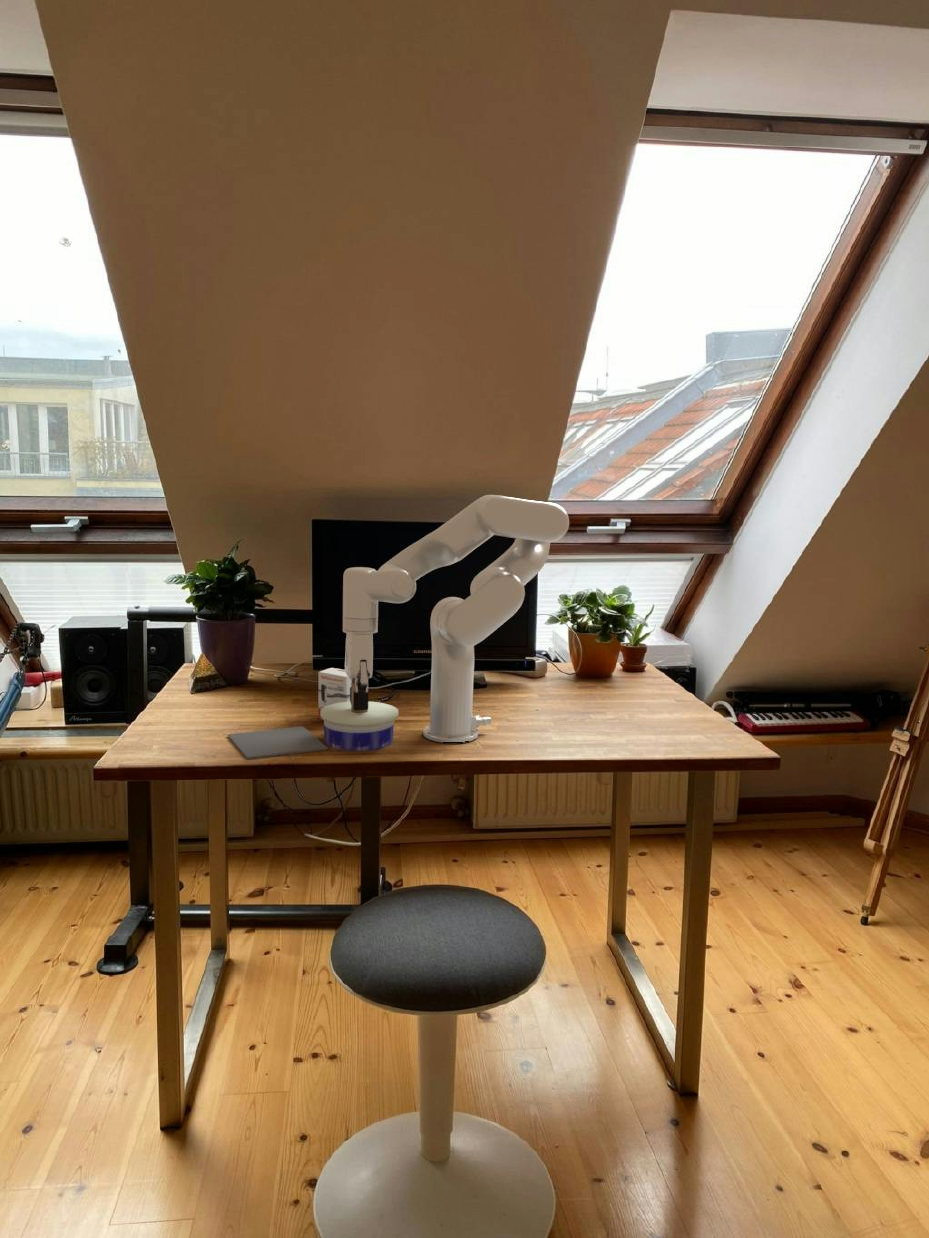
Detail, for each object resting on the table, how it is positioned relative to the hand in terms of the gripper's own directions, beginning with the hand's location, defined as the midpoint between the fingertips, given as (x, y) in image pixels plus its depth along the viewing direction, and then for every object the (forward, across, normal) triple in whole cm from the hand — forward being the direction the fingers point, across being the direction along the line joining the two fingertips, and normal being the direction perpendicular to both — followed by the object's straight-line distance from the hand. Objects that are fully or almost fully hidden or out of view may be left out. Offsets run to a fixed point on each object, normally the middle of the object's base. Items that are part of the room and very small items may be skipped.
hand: (359, 706), depth 189 cm
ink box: (+8, -17, -2) cm, 19 cm away
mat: (+8, -1, -18) cm, 19 cm away
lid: (+2, 0, 0) cm, 2 cm away
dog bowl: (+8, 0, 0) cm, 8 cm away
